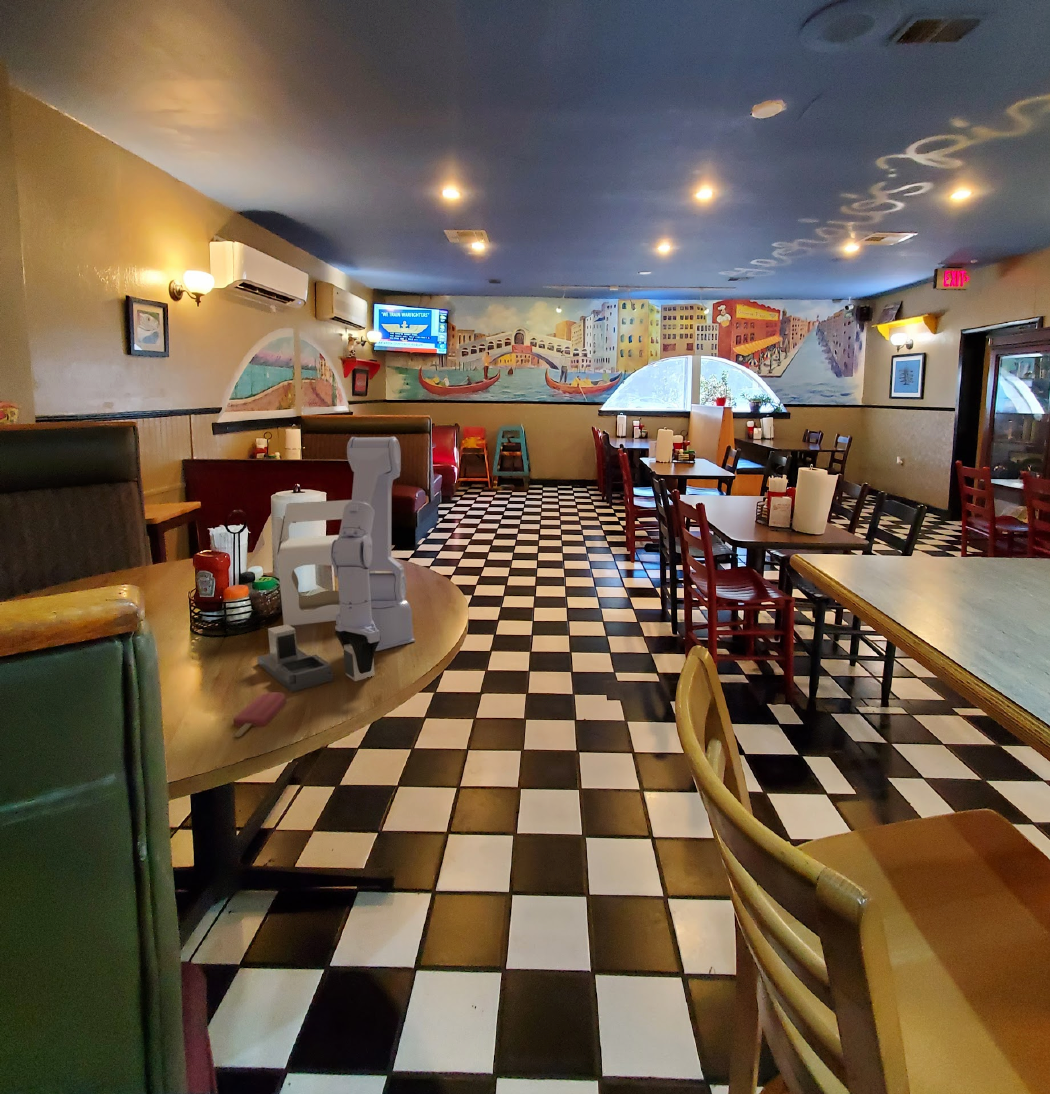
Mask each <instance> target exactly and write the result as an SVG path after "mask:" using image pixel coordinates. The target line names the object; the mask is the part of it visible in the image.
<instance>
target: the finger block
mask: <svg viewBox="0 0 1050 1094" xmlns="http://www.w3.org/2000/svg"><path fill="white" fill-rule="evenodd" d="M374 658H375V657H374ZM374 658H373V663H372V668H371V671H369V672H366V673H362V674H361V673H360V672H359V670H358V666H357V661H356V656H355V653H354V650H353V648H352V646H351V644H347V645H344V650H343V661H344V662H343V663H344V673H345V676H347V677H349V678H350V679H351V680H353V681H354V682H359V681H361V680H364V679H365V680H366V679H368V678H367V677H369V678H371V676H372V677H375V674H376V673H375V663H374V661H375V660H374Z"/></svg>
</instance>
